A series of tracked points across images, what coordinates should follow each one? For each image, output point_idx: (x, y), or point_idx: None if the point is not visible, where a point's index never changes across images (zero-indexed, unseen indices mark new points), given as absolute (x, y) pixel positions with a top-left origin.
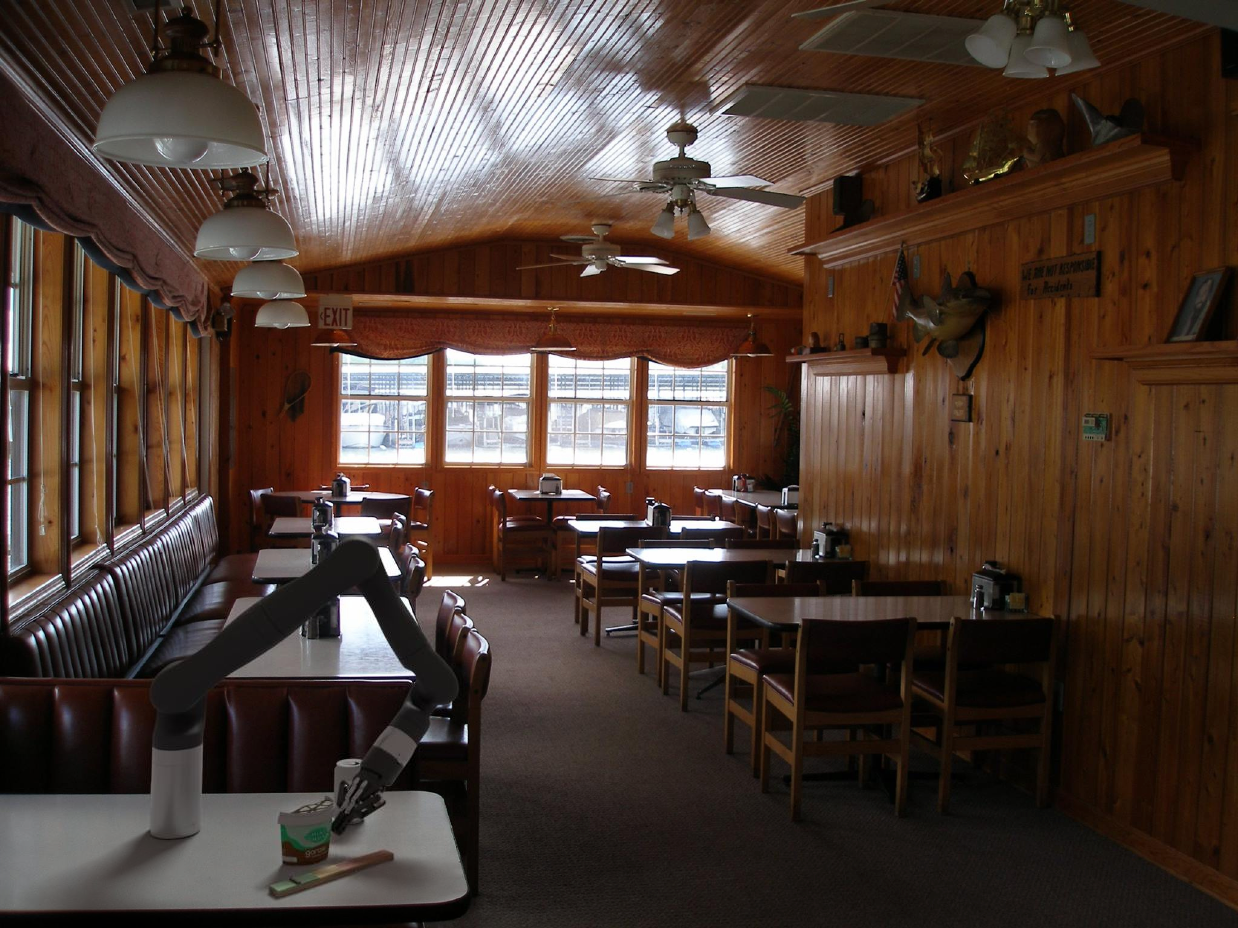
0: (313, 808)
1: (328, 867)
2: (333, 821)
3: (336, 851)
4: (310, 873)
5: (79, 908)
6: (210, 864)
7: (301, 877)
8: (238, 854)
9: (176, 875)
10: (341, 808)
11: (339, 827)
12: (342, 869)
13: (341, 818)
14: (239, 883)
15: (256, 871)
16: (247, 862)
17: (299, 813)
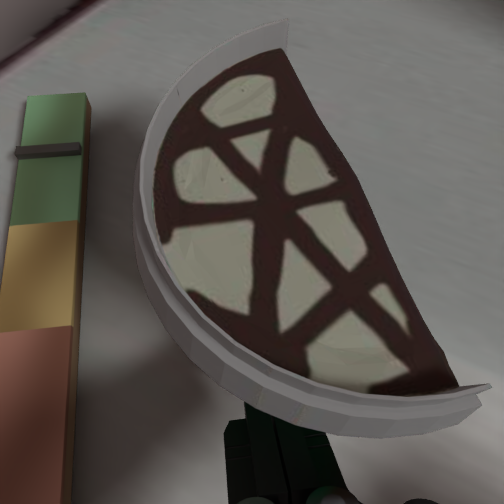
0: (291, 220)
1: (66, 294)
2: (324, 436)
3: None
4: (69, 218)
5: None
6: (392, 72)
7: (64, 182)
8: (436, 148)
9: (359, 3)
10: (331, 499)
11: (231, 433)
12: (1, 330)
13: (255, 460)
14: None
15: None
16: (352, 144)
17: (184, 75)
